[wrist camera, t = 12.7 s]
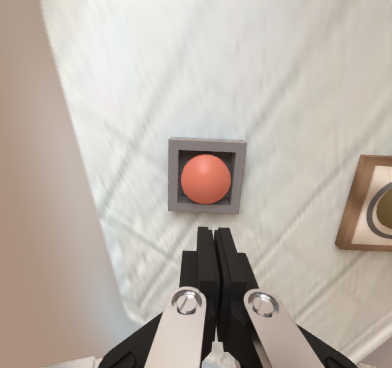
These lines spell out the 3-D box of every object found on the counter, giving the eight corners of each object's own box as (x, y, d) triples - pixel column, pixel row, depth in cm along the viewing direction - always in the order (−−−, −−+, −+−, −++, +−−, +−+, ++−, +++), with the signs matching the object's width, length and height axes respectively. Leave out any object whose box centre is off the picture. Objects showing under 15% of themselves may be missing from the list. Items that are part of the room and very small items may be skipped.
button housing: (171, 137, 24) (168, 139, 21) (241, 140, 24) (246, 143, 21) (170, 202, 26) (168, 211, 24) (234, 205, 26) (238, 213, 24)
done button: (182, 152, 23) (181, 155, 21) (230, 154, 23) (233, 157, 21) (181, 196, 24) (180, 202, 22) (226, 198, 24) (228, 205, 22)
